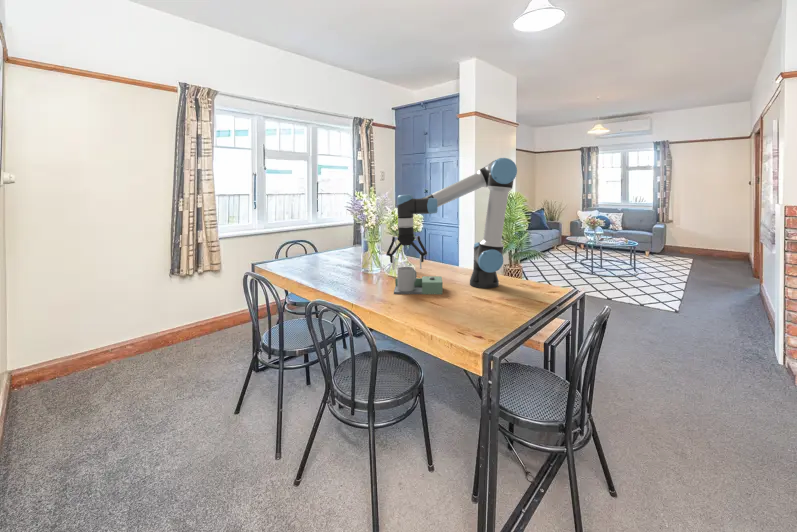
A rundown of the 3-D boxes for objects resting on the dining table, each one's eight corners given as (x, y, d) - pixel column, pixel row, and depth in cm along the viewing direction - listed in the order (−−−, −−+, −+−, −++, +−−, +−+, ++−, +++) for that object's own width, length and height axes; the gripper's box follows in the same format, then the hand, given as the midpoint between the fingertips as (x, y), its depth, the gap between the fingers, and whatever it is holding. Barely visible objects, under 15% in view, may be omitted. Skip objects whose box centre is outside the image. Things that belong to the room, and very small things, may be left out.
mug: (406, 292, 191) (406, 270, 189) (394, 289, 197) (393, 268, 195) (422, 288, 200) (422, 267, 198) (409, 285, 206) (409, 264, 203)
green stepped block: (441, 287, 204) (441, 274, 203) (442, 294, 192) (442, 280, 190) (395, 287, 206) (395, 274, 205) (393, 294, 193) (393, 280, 192)
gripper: (431, 225, 195) (431, 266, 199) (381, 226, 197) (383, 267, 201) (431, 226, 188) (432, 269, 192) (379, 228, 189) (381, 270, 194)
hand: (407, 268), depth 196 cm, fingers open, 13 cm apart
